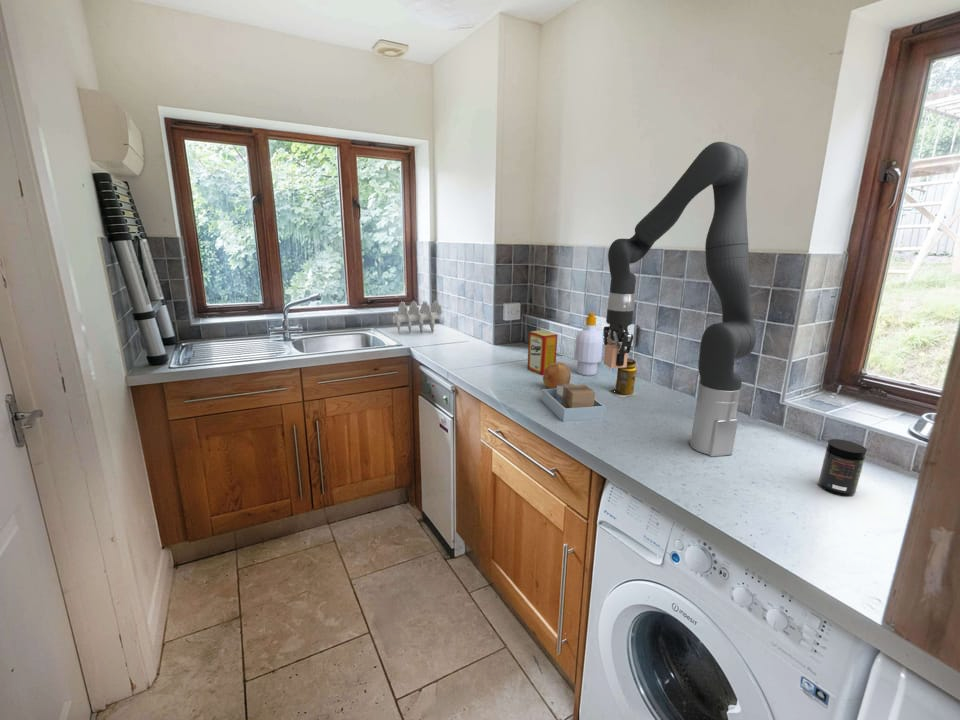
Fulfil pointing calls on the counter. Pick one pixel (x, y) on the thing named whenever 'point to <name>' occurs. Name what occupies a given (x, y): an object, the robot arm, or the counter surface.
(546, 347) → the baking soda box
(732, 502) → the counter surface
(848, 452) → the supplement container
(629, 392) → the condiment
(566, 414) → the tote
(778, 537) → the counter surface
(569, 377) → the onion
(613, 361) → the peach rectangular block
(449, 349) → the counter surface
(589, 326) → the soap bottle
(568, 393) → the walnut block
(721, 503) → the counter surface
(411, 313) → the grey lumpy piece
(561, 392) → the grey tin
